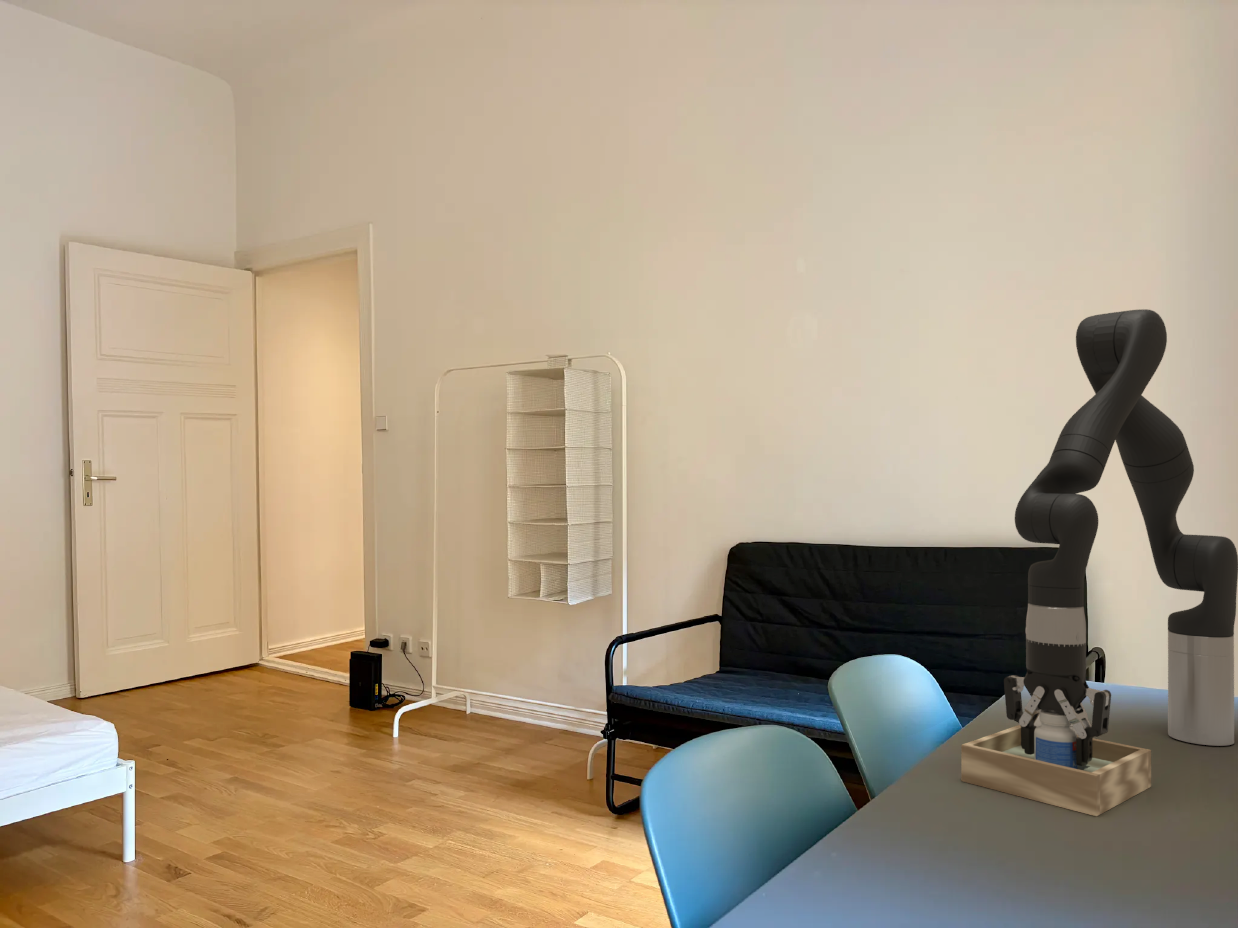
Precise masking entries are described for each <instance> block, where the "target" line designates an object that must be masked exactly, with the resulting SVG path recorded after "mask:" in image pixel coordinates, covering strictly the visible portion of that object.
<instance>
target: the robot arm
mask: <svg viewBox="0 0 1238 928" xmlns="http://www.w3.org/2000/svg"><path fill="white" fill-rule="evenodd" d="M1167 337H1168V334H1167V328H1166V324H1165V322H1164V320H1163V318H1162V316H1161V315H1160V314H1159V313H1158V312H1156V311H1154V310H1152V309H1144V308H1143V309H1132V310H1131V309H1130V310H1123V311H1122V310H1121V311H1114V312H1108V313H1101V314H1096V315H1090V316H1087V317H1085V318H1084V319H1083V320H1081V321H1080V323H1079V324H1078V326H1077V329H1076V331H1075V346H1076V352H1077V357H1078V359H1079V361H1080V362H1079V363H1080V364H1081V366H1082V369H1083V371H1084V373H1085V376H1086V378H1087V380H1088V381H1089V384H1090V385H1091V387H1092V390H1093V391H1094V395H1093V396H1092V397H1091V398H1089V400H1088V401H1087V402H1085V403H1084V404H1083V405H1082V406H1080V408H1079V409H1077V411H1076V412H1075V413H1074V414H1073V415H1072V416H1071V417H1070V418H1069V419H1068V420H1067V422H1066V423H1065V425H1064V426H1063V428H1062V430H1061V431H1060V434H1059V435H1058V438H1057V441H1056V443H1055V446H1054V449H1053V451H1052V452H1051V453H1052V454H1051V456H1050V458H1049V460H1048V463H1047V464H1046V465H1045V466H1044V467H1043V469H1042V470H1041V471H1040V472H1039V473H1038V474H1037V476H1036V477H1035V479H1034V480H1032V482H1031V484H1029V486H1028V487H1027V488H1026V490H1024V492H1023V494H1022V495H1021V497H1020V499H1019V500H1018V503H1017V505H1016V507H1015V511H1014V512H1015V513H1014V524H1015V529H1016V531H1017V533H1018V535H1019V536H1020V537H1021V538H1023V539H1024V541H1027V542H1030V543H1035V544H1050V545H1051V544H1052V545H1059V546H1058V549H1057V552H1056V554H1055V556H1054V557H1053V559H1047V560H1041V561H1036V562H1034V563H1031V564H1030V566H1029V569H1028V573H1027V574H1028V575H1027V576H1028V577H1027V584H1028V585H1027V588H1028V589H1027V592H1028V594H1027V599H1028V600H1027V612H1026V618H1025V619H1026V620H1025V648H1026V649H1025V656H1026V657H1025V665H1026V666H1025V667H1026V673H1025V676H1023V677H1022V676H1019V675H1016V674H1015V675H1009V676H1006V677H1004V678H1003V688H1004V699H1005V700H1004V701H1005V712H1006V718H1007V719H1008V720H1011V721H1014V722H1016V723H1017V724H1018V725H1020V726H1021V746H1022V749H1024V751H1025V754H1029V755H1031V754H1034V731H1035V729H1036V726H1034V723H1035V721H1036V719H1037V718H1038V716H1039V714H1040V711H1041V710H1043V711H1054V712H1057V713H1059V714H1065V715H1066V717H1067V719H1068V721H1069V722H1070V723H1072V725H1073V727H1074V729H1075V731H1076V733H1077V735H1078V738H1076V764H1077V765H1079V766H1085V765H1087V764H1088V762H1089V761H1091V760H1092V758H1093V738H1096V737H1097V738H1098V737H1101V736H1103V735H1106V734H1107V733H1108V732H1109V723H1110V713H1111V702H1112V693H1111V691H1110V690H1108V689H1103V690H1100V689H1095V688H1090V686H1089V685H1088V683H1087V680H1086V677H1087V675H1086V674H1087V622H1086V615H1085V607H1084V605H1085V604H1084V603H1085V599H1084V598H1085V593H1084V592H1085V584H1084V583H1085V576H1086V571H1087V568H1088V563H1089V559H1090V556H1091V555H1090V554H1091V552H1092V548H1093V545H1094V543H1095V540H1096V536H1097V533H1098V528H1099V513H1098V510H1097V508H1096V505H1095V504H1094V502H1093V501H1092V499H1090V498H1089V497H1087V496H1086V495H1083V494H1082V493H1085V492H1088V491H1090V490H1094V489H1095V487H1096V486H1098V485H1099V482H1100V481H1101V478H1102V476H1103V473H1104V470H1105V468H1106V465H1107V464H1108V460H1109V457H1110V454H1111V452H1112V449H1113V446H1114V444H1115V443H1116V445H1117V449H1118V453H1119V455H1120V459H1121V462H1122V464H1123V467H1124V470H1125V473H1126V475H1127V478H1128V479H1129V482H1130V485H1131V487H1132V489H1133V492H1134V496H1135V498H1136V500H1137V503H1138V506H1139V508H1140V512H1141V515H1142V518H1143V522H1144V525H1145V530H1146V533H1147V536H1148V537H1147V538H1148V542H1149V546H1150V548H1151V554H1152V557H1153V562H1154V566H1155V569H1156V572H1157V575H1158V576H1159V579H1160V580H1161V581H1162V583H1163V584H1164V585H1165V586H1167V588H1168V587H1169V588H1171V589H1176V590H1181V591H1193V592H1203V598H1202V601H1200V603H1199V604H1198V605H1196V606H1194V607H1191V608H1189V609H1188V608H1187V609H1184V610H1179V611H1175V612H1172V613H1170V614H1169V615H1168V616H1167V658H1168V659H1167V735H1168V736H1169V737H1170V738H1173V739H1176V740H1178V741H1182V742H1186V743H1189V744H1190V743H1191V744H1196V745H1203V746H1205V745H1206V746H1216V747H1219V746H1220V747H1223V746H1230V745H1231V746H1232V745H1234V744H1235V637H1234V636H1235V622H1236V616H1237V615H1236V614H1237V595H1238V594H1237V592H1238V589H1237V588H1238V551H1237V548H1236V546H1235V543H1234V542H1233V541H1232V540H1231V539H1230V538H1229V537H1226V536H1222V535H1221V536H1219V535H1205V534H1203V535H1202V534H1184V533H1183V532H1182V531H1181V529H1180V527H1179V525H1178V522H1177V513H1178V510H1179V508H1180V505H1181V503H1182V502H1183V499H1184V498H1185V496H1186V494H1187V491H1188V490H1189V488H1190V486H1191V484H1192V481H1193V477H1194V472H1195V468H1194V467H1195V466H1194V463H1193V462H1194V461H1193V459H1192V456H1191V454H1190V450H1189V447H1188V444H1187V441H1186V438H1185V436H1184V433H1183V432H1182V429H1180V427H1179V426H1178V425H1177V424H1176V423H1175V422H1174V421H1173V420H1172V419H1171V418H1170V417H1169V416H1167V414H1165V413H1164V412H1163V411H1161V410H1160V409H1159V408H1158V407H1157V406H1155V405H1154V404H1153V403H1151V402H1150V401H1149V400H1148V399H1147V398H1146V397H1144V396H1143V395H1142V394H1143V393H1144V391H1145V390H1146V388H1147V386H1148V384H1149V383H1150V382H1151V380H1152V378H1153V376H1154V375H1155V373H1156V372H1157V370H1158V369H1159V366H1160V365H1161V362H1162V360H1163V358H1164V355H1165V352H1166V349H1167V343H1168V338H1167ZM1080 493H1081V494H1080ZM1024 688H1025V689H1026V690H1027V692H1028V694H1029V695H1030V699H1029V701H1028V703H1027V704H1026V705H1025V707H1024V711H1023V703H1022V702H1023V700H1022V692H1023V690H1024ZM1086 698H1088V699H1089V703H1090V705H1091V706H1092V720H1091V721H1092V722H1089V721H1090V720H1089V718H1088V713H1087V710H1086V709H1085V706H1084V705H1083V701H1084V700H1085V699H1086Z"/></svg>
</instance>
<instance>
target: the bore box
mask: <svg viewBox="0 0 1238 928" xmlns="http://www.w3.org/2000/svg"><path fill="white" fill-rule="evenodd" d="M1077 738H1078V735H1077ZM960 746H961V752H960V754H961V756H960V757H961V759H960V760H961V764H960V765H961V767H960V768H961V769H960V770H961V772H960V773H961V776H960V779H961V780H960V781H961V782H963V783H967V784H972V785H975V786H979V787H983V788H987V789H991V790H993V791H998V792H1002V793H1005V794H1008V795H1009V794H1010V795H1013V796H1018V797H1020V798H1025V799H1030V800H1032V801H1036V802H1041V803H1044V804H1047V805H1051V806H1056V807H1059V808H1063V809H1067V810H1071V811H1074V812H1079V813H1082V814H1086V815H1090V816H1094V817H1099V816H1100V815H1102V814H1104V813H1106V812H1107V811H1109V810H1111V809H1113V808H1115V807H1117V806H1119V805H1120V804H1122V803H1124V802H1126V801H1128V800H1129V799H1132V798H1134V797H1135V796H1136V795H1138V794H1141V793H1143V792H1144V791H1147V790H1148V789H1150V788H1152V749H1148V748H1143V747H1139V746H1138V747H1137V746H1133V745H1127V744H1123V743H1119V742H1115V741H1109V740H1103V739H1098V738H1095V737H1093V758H1092V760H1091V761H1089V762H1088V764H1087V765H1085V766H1079V765H1077V769H1074V768H1070V767H1066V766H1061V765H1057V764H1052V763H1048V762H1044V761H1039V760H1035V759H1034V754H1031V755H1029V754H1025V751H1024V749H1022V746H1021V726H1020V724H1017V725H1014V726H1012V727H1009V728H1006V729H1003V730H1001V731H998V732H995V733H991V734H989V735H985V736H983V737H981V738H978V739H975V740H971V741H968V742H966V743H963V744H961V745H960Z"/></svg>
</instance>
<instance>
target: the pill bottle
mask: <svg viewBox="0 0 1238 928" xmlns="http://www.w3.org/2000/svg"><path fill="white" fill-rule="evenodd" d="M1040 722H1041V723H1042V724H1041V726H1038V727H1036V729H1035V731H1034V759H1035V760H1039V761H1044V762H1048V763H1052V764H1057V765H1061V766H1066V767H1070V768H1074V769H1077V764H1076V738H1077V734H1076V732H1075V731H1074V730H1072V729H1070V725H1071V723H1070V722H1069V721H1068V719H1067V717H1066V715H1065V714H1059V713H1057V712H1054V711H1043V710H1041V711H1040Z"/></svg>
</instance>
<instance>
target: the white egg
mask: <svg viewBox="0 0 1238 928" xmlns="http://www.w3.org/2000/svg"><path fill="white" fill-rule="evenodd" d="M1089 722H1090V723H1092V720H1089ZM1041 724H1042V723H1041V722H1040V714H1039V716H1038V718H1037V719H1036V721H1035V723H1034V726H1036V727H1038V726H1041ZM1070 729H1072V730H1074V731H1075V729H1074V727H1073V725H1072V723H1071V725H1070ZM1075 732H1076V731H1075ZM1076 734H1077V733H1076Z"/></svg>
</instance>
